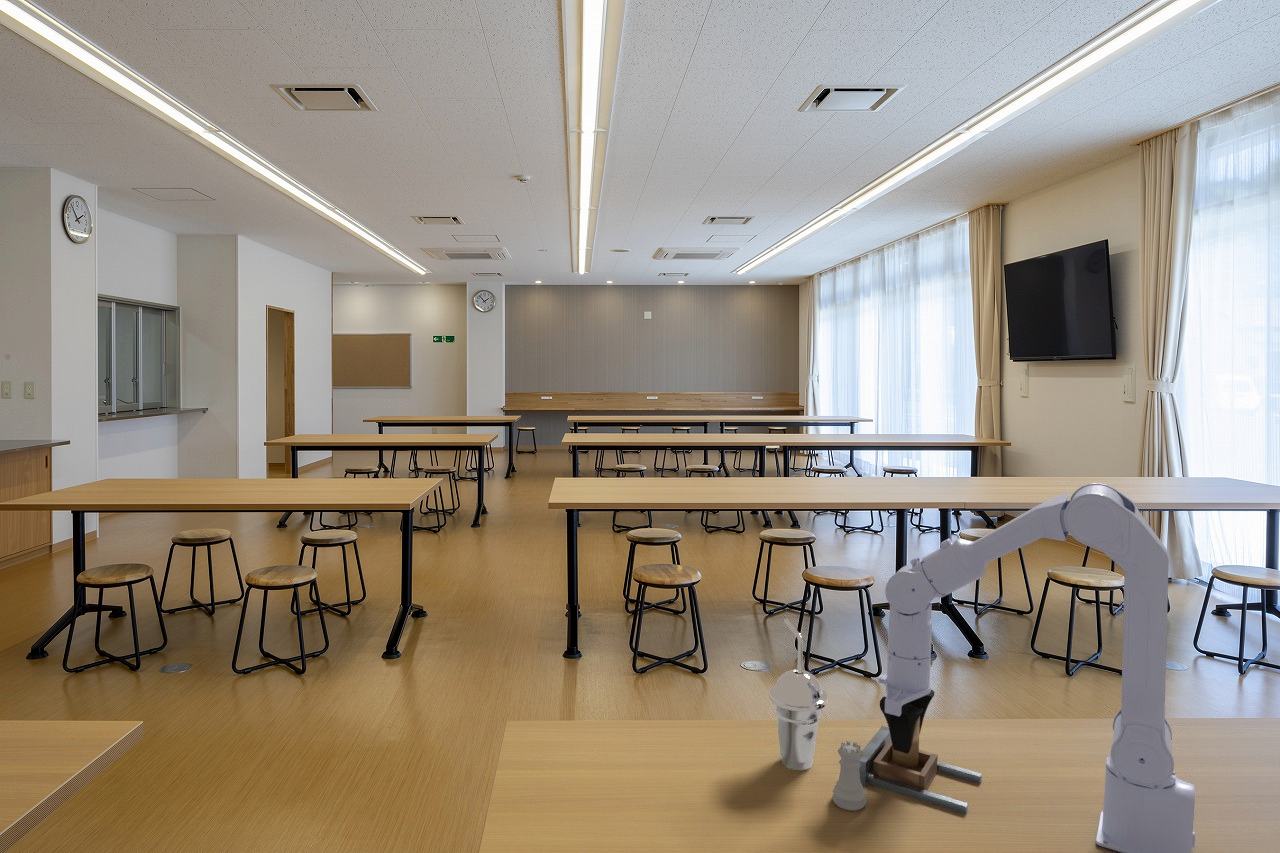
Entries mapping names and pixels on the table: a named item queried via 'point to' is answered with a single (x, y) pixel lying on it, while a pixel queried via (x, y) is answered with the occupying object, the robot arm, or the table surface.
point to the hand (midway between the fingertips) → (905, 744)
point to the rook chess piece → (849, 779)
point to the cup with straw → (797, 712)
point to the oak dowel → (913, 755)
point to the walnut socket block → (906, 768)
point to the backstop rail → (869, 778)
